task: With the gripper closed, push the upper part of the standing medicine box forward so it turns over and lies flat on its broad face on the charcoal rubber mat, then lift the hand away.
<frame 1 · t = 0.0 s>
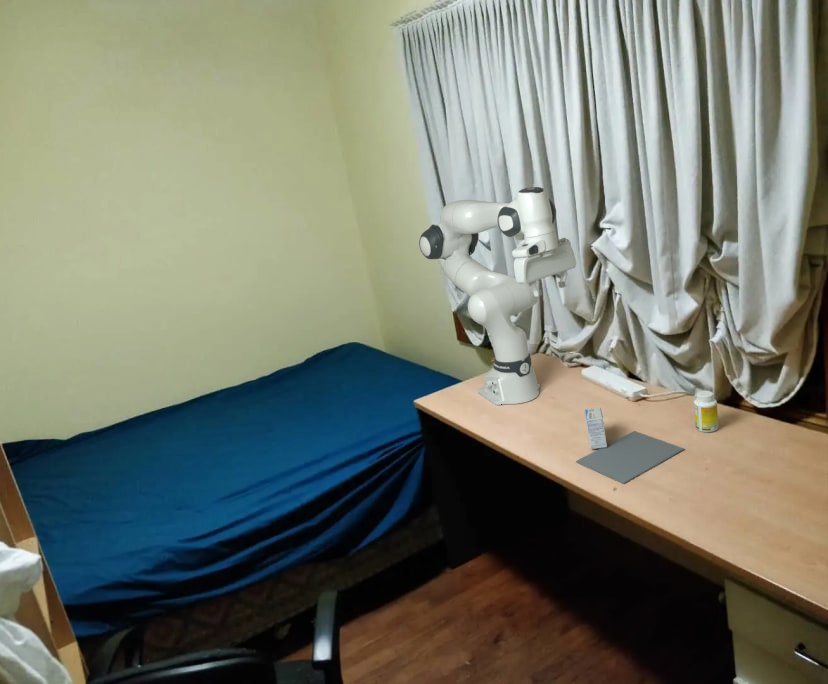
hand: (550, 291, 183), 39 cm above the table, tool pointing down, fingers open, 8 cm apart
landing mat: (629, 456, 163), on the table
supplement bottle: (706, 429, 170), on the table
medicine box: (597, 443, 173), on the table, touching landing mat
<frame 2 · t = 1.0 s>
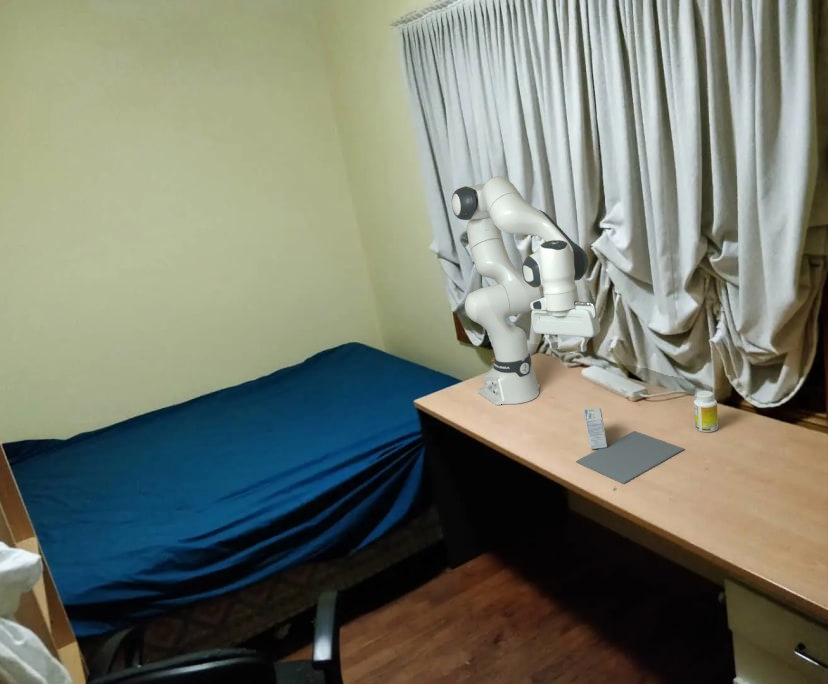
hand: (568, 350, 174), 25 cm above the table, tool pointing down, fingers open, 8 cm apart
nothing on the table moved.
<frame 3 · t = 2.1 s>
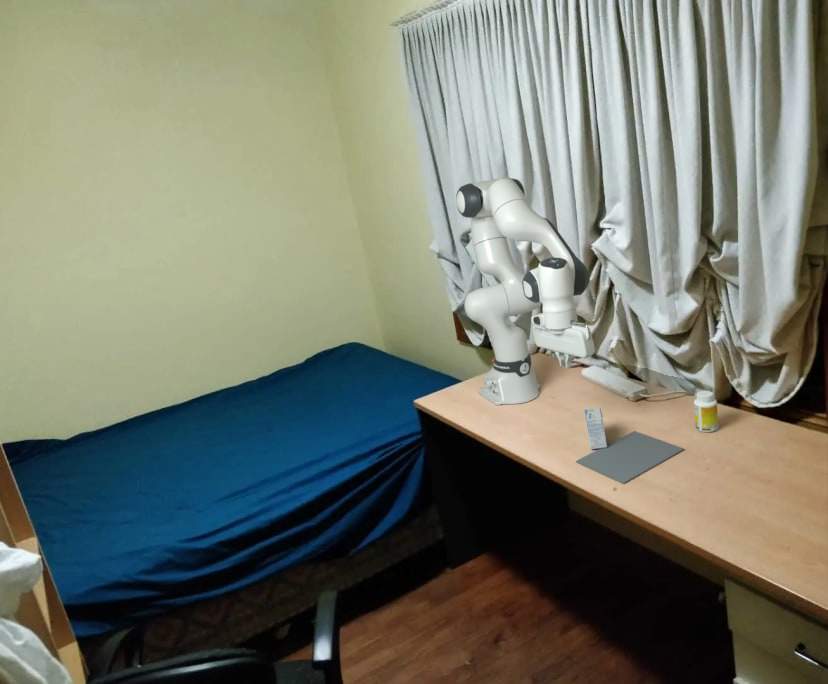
hand: (566, 366, 174), 21 cm above the table, tool pointing down, fingers closed
nothing on the table moved.
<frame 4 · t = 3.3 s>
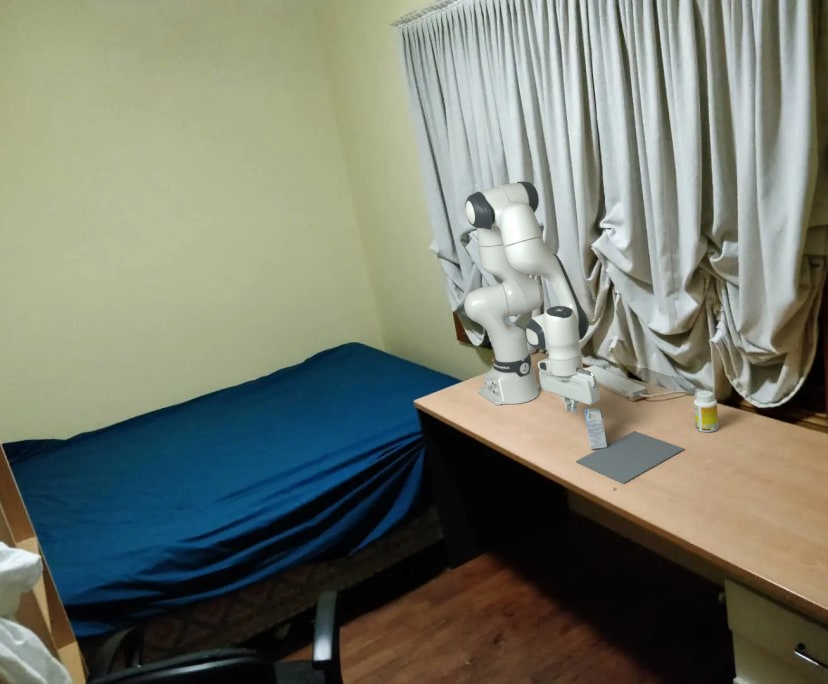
hand: (571, 410, 178), 7 cm above the table, tool pointing down, fingers closed
nothing on the table moved.
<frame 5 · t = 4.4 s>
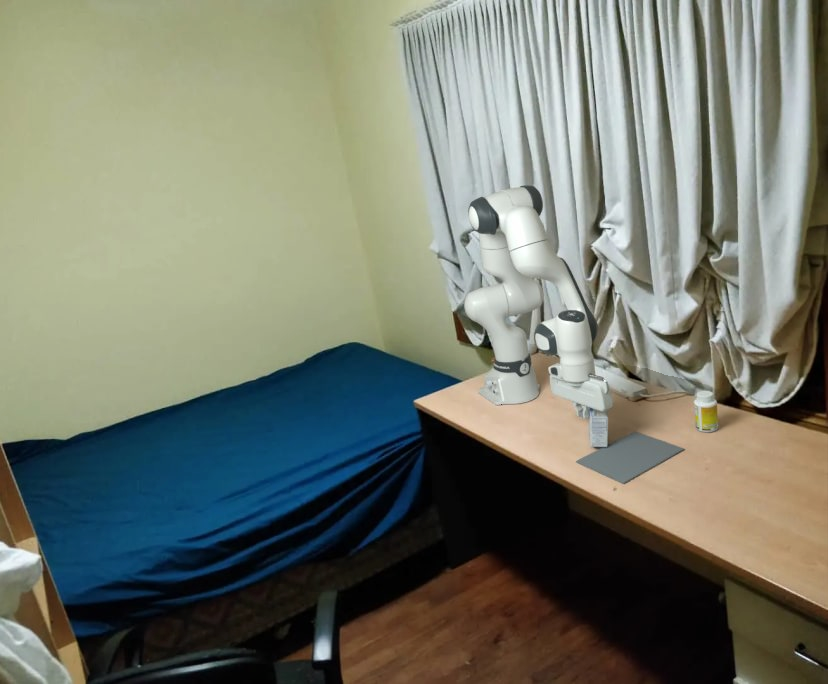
hand: (583, 416, 174), 7 cm above the table, tool pointing down, fingers closed
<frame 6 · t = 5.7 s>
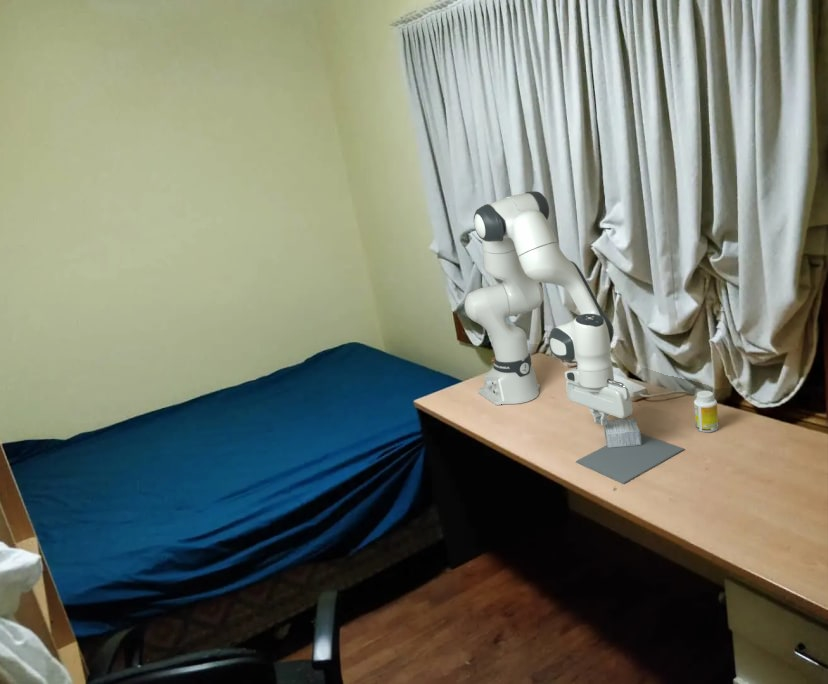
hand: (601, 423, 169), 7 cm above the table, tool pointing down, fingers closed
medicine box: (604, 434, 172), point 3 cm above the table, touching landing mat
everything else where it was.
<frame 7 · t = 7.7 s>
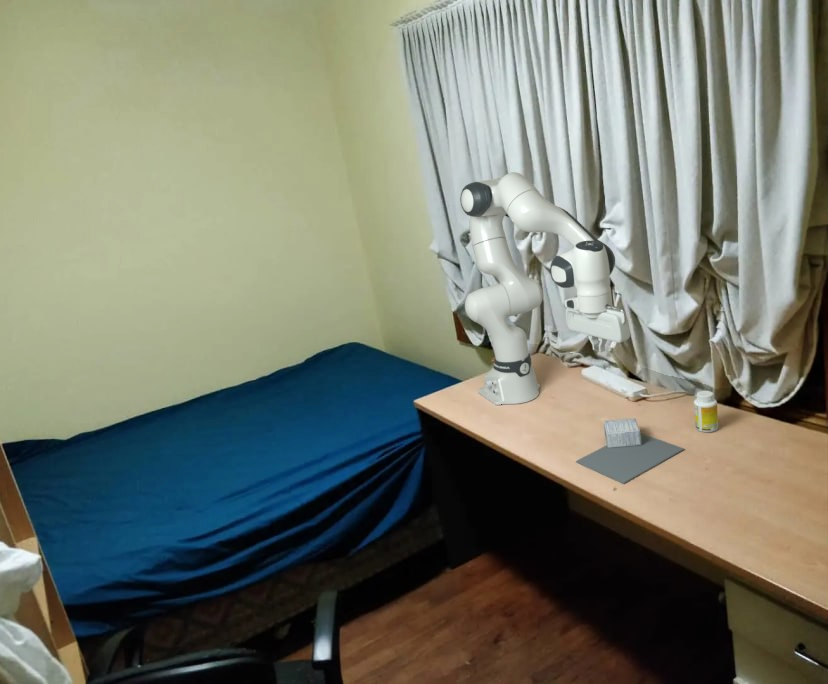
hand: (599, 350, 173), 24 cm above the table, tool pointing down, fingers closed
nothing on the table moved.
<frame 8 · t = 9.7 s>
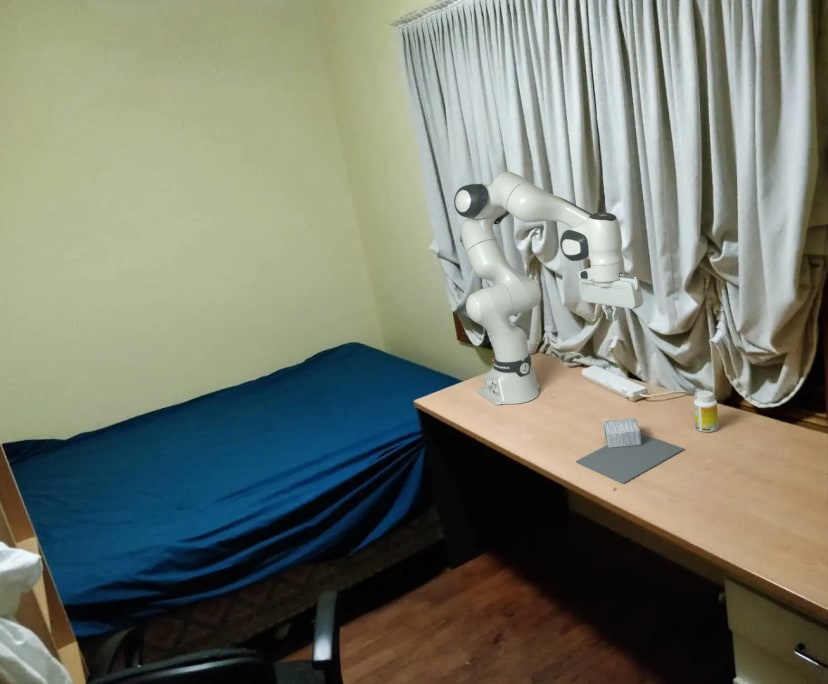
hand: (612, 319, 179), 29 cm above the table, tool pointing down, fingers closed
nothing on the table moved.
at the end: medicine box tilted 90°; medicine box inside the target area (3.1 cm from its centre), point 2.6 cm above the table; the gripper is holding nothing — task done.
